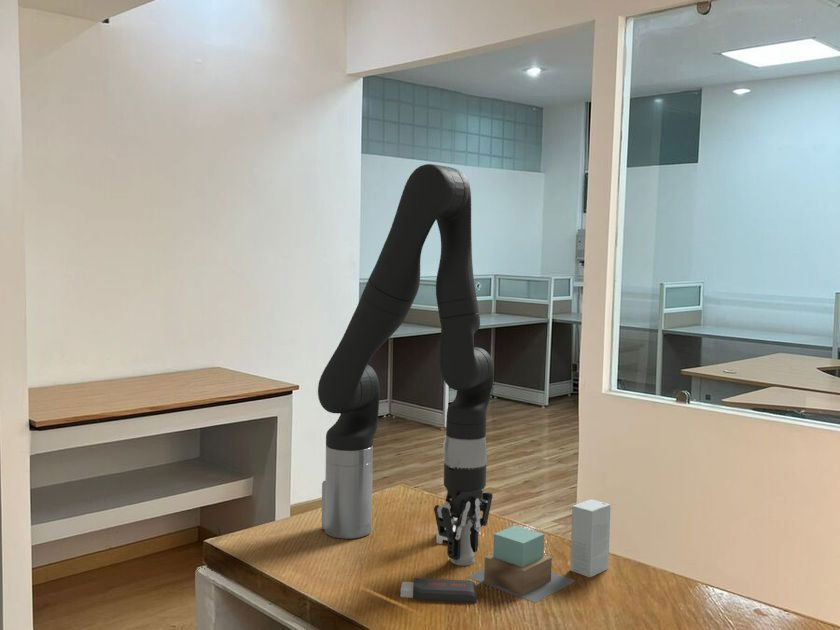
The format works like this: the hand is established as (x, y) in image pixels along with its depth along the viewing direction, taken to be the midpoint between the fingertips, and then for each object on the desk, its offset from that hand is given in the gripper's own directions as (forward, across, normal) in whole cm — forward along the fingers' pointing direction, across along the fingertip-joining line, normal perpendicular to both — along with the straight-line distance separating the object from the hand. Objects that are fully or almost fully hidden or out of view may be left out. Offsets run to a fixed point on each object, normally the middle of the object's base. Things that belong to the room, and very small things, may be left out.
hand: (462, 554), depth 139 cm
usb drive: (+2, +14, +6) cm, 15 cm away
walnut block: (+1, 0, +12) cm, 12 cm away
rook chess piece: (+2, 0, 0) cm, 2 cm away
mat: (+1, -1, +12) cm, 12 cm away
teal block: (-3, 0, +12) cm, 12 cm away
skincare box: (+2, -13, +18) cm, 22 cm away
